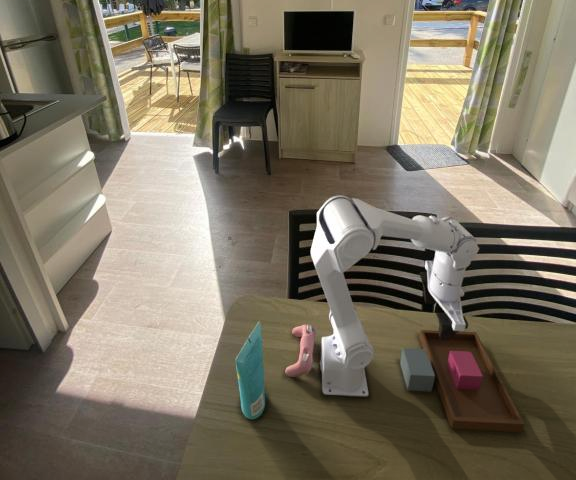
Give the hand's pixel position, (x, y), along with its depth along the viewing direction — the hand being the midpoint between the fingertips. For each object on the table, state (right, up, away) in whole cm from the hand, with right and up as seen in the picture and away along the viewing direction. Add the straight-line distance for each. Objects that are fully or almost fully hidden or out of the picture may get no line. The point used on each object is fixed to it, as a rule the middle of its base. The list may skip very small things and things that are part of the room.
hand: (436, 319), depth 66 cm
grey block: (-6, -11, -1) cm, 13 cm away
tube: (-41, -13, -6) cm, 43 cm away
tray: (+5, -11, -2) cm, 13 cm away
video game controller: (-30, -10, +2) cm, 32 cm away
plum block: (+5, -11, -2) cm, 12 cm away
